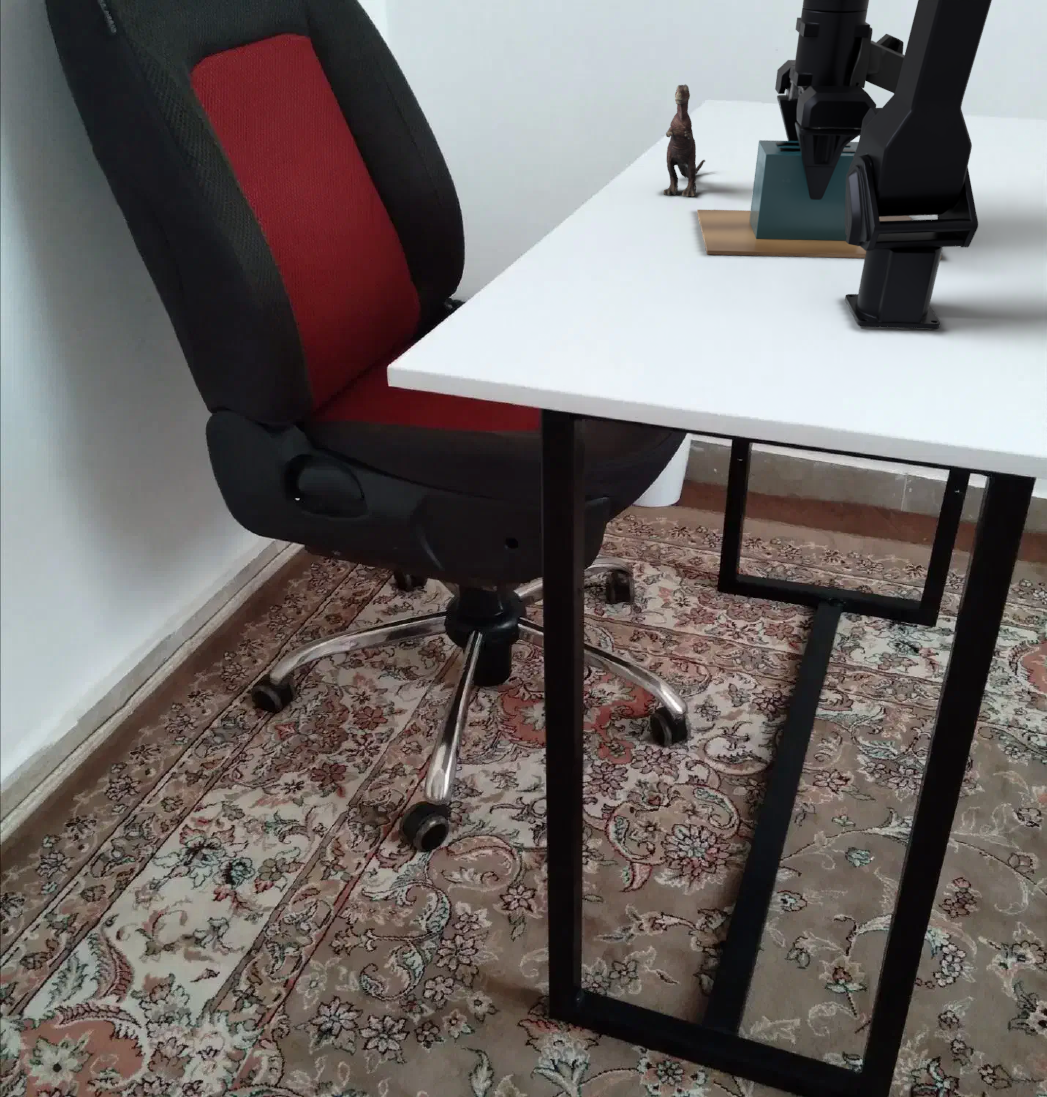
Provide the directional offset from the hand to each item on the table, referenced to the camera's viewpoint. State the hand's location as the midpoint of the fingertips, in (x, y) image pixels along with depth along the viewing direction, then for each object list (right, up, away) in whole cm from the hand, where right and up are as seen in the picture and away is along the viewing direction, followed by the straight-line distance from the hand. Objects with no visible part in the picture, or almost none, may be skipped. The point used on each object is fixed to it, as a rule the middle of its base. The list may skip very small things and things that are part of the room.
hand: (808, 186), depth 102 cm
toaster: (0, -4, +2) cm, 4 cm away
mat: (+1, -4, +2) cm, 5 cm away
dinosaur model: (-9, +6, +18) cm, 21 cm away
